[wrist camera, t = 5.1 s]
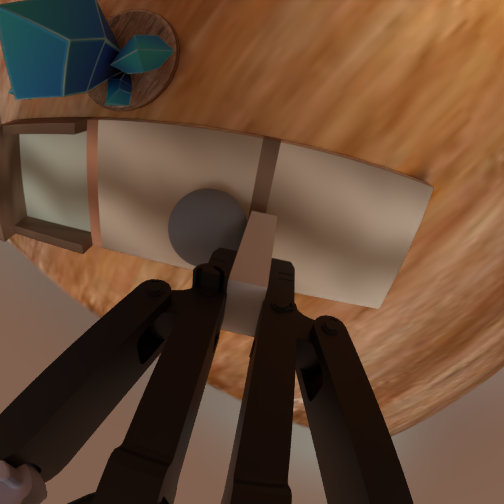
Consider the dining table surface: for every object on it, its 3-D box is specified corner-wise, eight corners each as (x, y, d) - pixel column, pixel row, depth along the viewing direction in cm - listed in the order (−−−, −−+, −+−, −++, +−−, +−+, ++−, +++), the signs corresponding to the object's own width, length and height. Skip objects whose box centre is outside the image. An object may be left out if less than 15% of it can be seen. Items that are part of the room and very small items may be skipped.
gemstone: (115, -5, 12) (-22, -35, 2) (210, 43, 14) (82, -10, 4) (65, 80, 15) (-72, 112, 5) (145, 136, 17) (2, 208, 7)
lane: (15, 119, 17) (-18, 131, 14) (427, 182, 16) (455, 205, 13) (24, 219, 22) (-2, 239, 19) (376, 300, 22) (387, 337, 18)
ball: (241, 212, 13) (260, 187, 17) (153, 195, 14) (189, 174, 18) (231, 292, 15) (249, 253, 19) (154, 272, 16) (185, 238, 20)
